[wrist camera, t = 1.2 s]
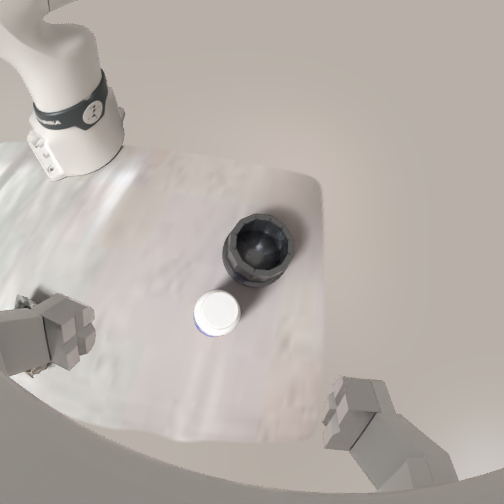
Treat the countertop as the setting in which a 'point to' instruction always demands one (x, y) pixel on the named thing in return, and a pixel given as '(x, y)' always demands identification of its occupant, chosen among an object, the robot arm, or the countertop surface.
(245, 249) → the cup holder
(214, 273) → the countertop surface
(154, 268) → the countertop surface
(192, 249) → the countertop surface
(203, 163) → the countertop surface
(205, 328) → the pill bottle
